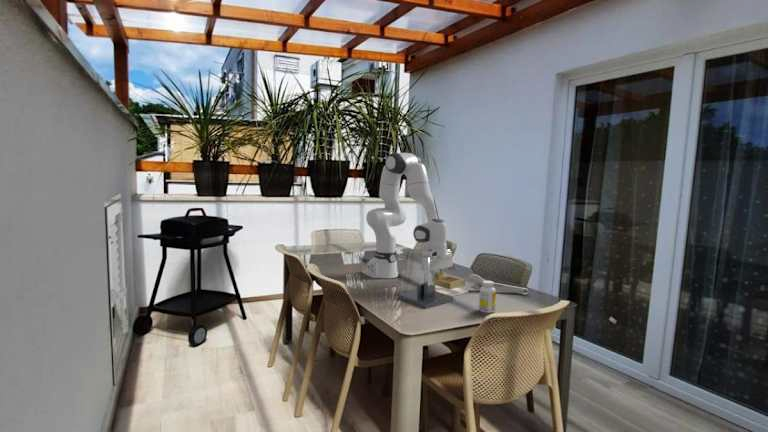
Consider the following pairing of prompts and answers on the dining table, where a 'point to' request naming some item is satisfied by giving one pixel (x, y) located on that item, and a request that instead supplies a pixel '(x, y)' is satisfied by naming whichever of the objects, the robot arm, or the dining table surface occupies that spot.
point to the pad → (450, 291)
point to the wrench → (495, 285)
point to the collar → (447, 281)
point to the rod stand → (426, 292)
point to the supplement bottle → (487, 297)
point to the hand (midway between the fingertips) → (437, 277)
